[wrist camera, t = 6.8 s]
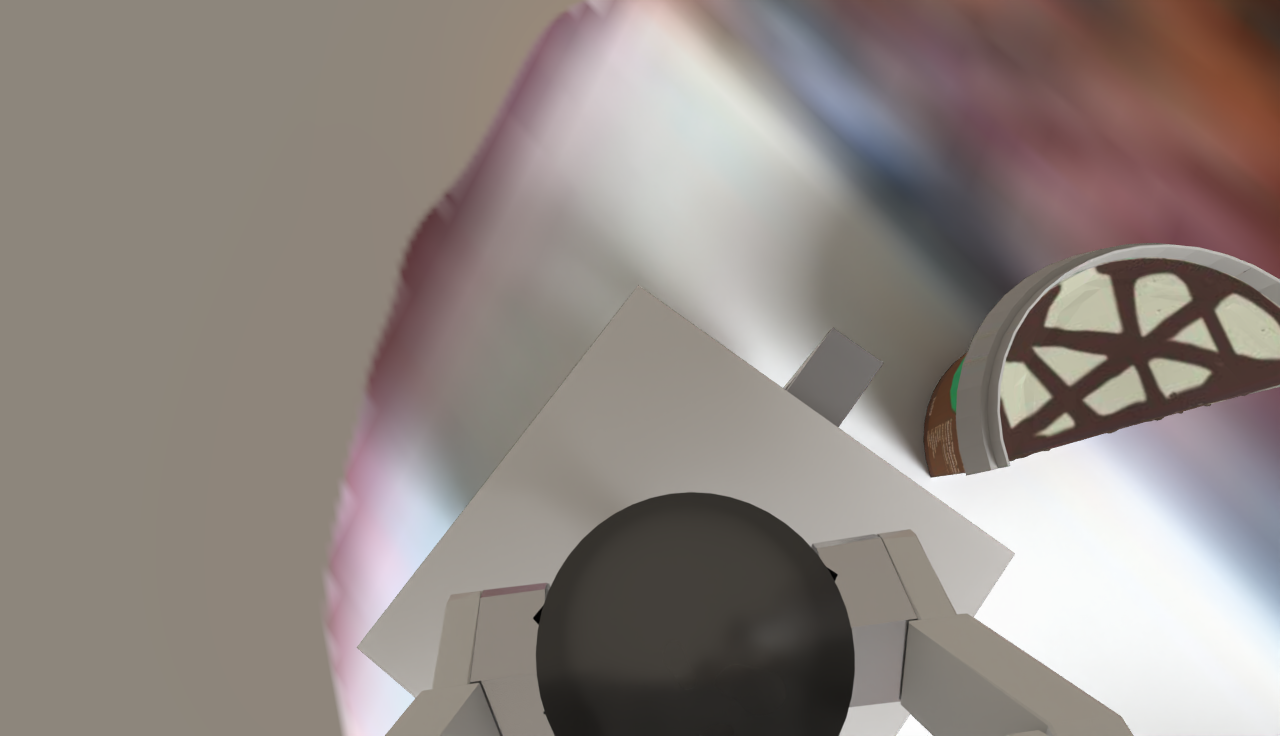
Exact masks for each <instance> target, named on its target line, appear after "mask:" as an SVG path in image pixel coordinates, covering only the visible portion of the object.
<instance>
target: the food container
mask: <svg viewBox="0 0 1280 736" xmlns="http://www.w3.org/2000/svg"><path fill="white" fill-rule="evenodd" d="M1277 387H1280V279H1278V278H1276V277H1274V276H1272V275H1271V274H1269V273H1267V272H1265V271H1264V270H1262V269H1260V268H1258V267H1256V266H1255V265H1252V264H1250V263H1247V262H1245V261H1242V260H1240V259H1237V258H1235V257H1232V256H1229V255H1227V254H1223V253H1219V252H1215V251H1211V250H1207V249H1203V248H1199V247H1190V246H1180V245H1171V244H1161V243H1144V244H1126V245H1121V246H1116V247H1110V248H1105V249H1100V250H1096V251H1092V252H1088V253H1084V254H1079V255H1075V256H1072V257H1070V258H1067V259H1064V260H1061V261H1059V262H1056V263H1053V264H1051V265H1048V266H1046V267H1045V268H1043V269H1041V270H1039V271H1038V272H1036V273H1034V274H1032V275H1030V276H1029V277H1027V278H1025V279H1024V280H1023V281H1021V282H1020V283H1019V284H1018V285H1017V286H1015V287H1014V288H1013V289H1012V290H1010V291H1009V292H1008V293H1007V294H1005V295H1004V296H1003V298H1002V299H1001V300H1000V301H999V302H998V303H997V304H996V306H995V307H994V308H993V309H992V310H991V311H990V312H989V314H988V315H987V316H986V318H985V319H984V321H983V323H982V324H981V326H980V328H979V329H978V331H977V332H976V334H975V336H974V337H973V339H972V342H971V344H970V347H969V349H968V352H967V353H965V354H964V355H963V356H962V357H961V358H960V359H958V360H957V361H956V362H955V363H954V364H953V365H952V366H951V367H950V368H949V369H948V370H947V372H946V373H945V374H944V375H943V376H942V378H941V379H940V381H939V383H938V385H937V386H936V388H935V390H934V391H933V394H932V397H931V399H930V402H929V405H928V408H927V413H926V418H925V423H924V448H925V457H926V461H927V465H928V469H929V472H930V476H931V477H939V476H946V475H953V474H960V473H966V475H971V474H975V473H980V472H985V471H990V470H994V469H997V468H1003V467H1008V466H1010V462H1009V461H1013V460H1015V459H1018V458H1024V457H1027V456H1029V455H1031V454H1034V453H1037V452H1041V451H1049V450H1050V449H1051V448H1055V447H1059V446H1062V445H1066V444H1069V443H1073V442H1077V441H1080V440H1084V439H1087V438H1090V437H1094V436H1097V435H1101V434H1104V433H1113V432H1115V431H1117V430H1118V429H1122V428H1125V427H1129V426H1132V425H1137V424H1140V423H1143V422H1148V421H1153V420H1156V421H1158V420H1161V419H1162V418H1164V417H1165V416H1168V415H1172V414H1176V413H1183V411H1186V410H1190V409H1194V408H1197V407H1200V406H1210V405H1211V404H1212V403H1216V402H1220V401H1224V400H1227V399H1231V398H1235V397H1238V396H1245V395H1247V394H1251V393H1255V392H1260V391H1264V390H1268V389H1272V388H1277Z"/></svg>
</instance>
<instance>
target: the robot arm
mask: <svg viewBox="0 0 1280 736" xmlns="http://www.w3.org/2000/svg"><path fill="white" fill-rule="evenodd" d="M811 548H812V549H813V550H814V551H815V552H816V553H817V555H818V556H819V557H820V559H821V560H822V562H823V563H824V564H825V566H826V567H827V569H828V570H829V572H830V574H831V576H832V577H833V579H834V581H835V583H836V585H837V587H838V589H839V591H840V594H841V596H842V599H843V601H844V604H845V606H846V609H847V613H848V617H849V621H850V625H851V629H852V635H853V643H854V651H855V676H854V684H853V691H852V698H851V702H850V706H849V707H856V706H865V705H874V704H883V703H891V702H900V701H901V705H902V706H903V707H904V708H905V709H906V710H907V711H908V712H909V713H910V714H911V715H912V716H913V717H914V718H915V719H916V720H917V721H918V722H919V723H921V724H922V725H923V726H924V727H925V728H926V729H927V730H928V731H929V732H930V733H931V734H932V735H933V736H1133V734H1132V733H1131V731H1130V729H1129V728H1128V726H1127V725H1126V723H1125V722H1124V720H1123V718H1122V717H1121V716H1120V715H1118V714H1117V713H1115V712H1114V711H1112V710H1111V709H1109V708H1108V707H1106V706H1105V705H1103V704H1102V703H1100V702H1099V701H1097V700H1096V699H1094V698H1093V697H1091V696H1090V695H1088V694H1087V693H1085V692H1084V691H1082V690H1081V689H1080V688H1078V687H1077V686H1075V685H1074V684H1072V683H1071V682H1069V681H1068V680H1066V679H1065V678H1063V677H1062V676H1060V675H1059V674H1057V673H1056V672H1054V671H1053V670H1051V669H1050V668H1048V667H1047V666H1045V665H1044V664H1042V663H1041V662H1039V661H1038V660H1036V659H1035V658H1033V657H1032V656H1030V655H1029V654H1027V653H1026V652H1024V651H1023V650H1021V649H1020V648H1018V647H1017V646H1015V645H1014V644H1012V643H1011V642H1009V641H1008V640H1006V639H1005V638H1003V637H1002V636H1000V635H999V634H997V633H996V632H994V631H993V630H991V629H990V628H988V627H987V626H985V625H984V624H982V623H981V622H979V621H978V620H976V619H975V618H973V617H972V616H970V615H969V614H967V613H965V614H957V613H956V611H955V609H954V607H953V605H952V604H951V602H950V600H949V598H948V596H947V594H946V592H945V590H944V588H943V586H942V584H941V582H940V580H939V578H938V576H937V574H936V572H935V570H934V569H933V567H932V565H931V563H930V561H929V559H928V557H927V555H926V553H925V551H924V549H923V547H922V545H921V543H920V541H919V539H918V537H917V535H916V534H915V533H914V532H913V531H912V530H911V529H907V530H900V531H894V532H887V533H880V534H877V535H876V534H871V535H865V536H858V537H852V538H845V539H839V540H832V541H826V542H820V543H813V544H812V547H811ZM549 589H550V584H549V583H540V584H531V585H523V586H514V587H506V588H497V589H489V590H483V591H475V592H467V593H459V594H451V596H450V598H449V599H448V601H447V603H446V608H445V613H444V619H443V625H442V631H441V637H440V642H439V648H438V654H437V660H436V666H435V671H434V677H433V683H432V689H430V690H424V691H421V692H420V694H419V695H418V696H417V697H416V698H415V700H414V701H413V702H412V703H411V705H410V706H409V707H408V708H407V709H406V711H405V712H404V713H403V714H402V716H401V717H400V718H399V719H398V720H397V722H396V723H395V724H394V725H393V726H392V728H391V729H390V730H389V731H388V733H387V734H386V735H385V736H554V733H553V731H552V729H551V727H550V724H549V722H548V720H547V717H546V714H545V711H544V707H543V704H542V701H541V697H540V692H539V686H538V680H537V670H536V644H537V632H538V627H539V622H540V617H541V612H542V609H543V606H544V603H545V600H546V597H547V594H548V591H549Z"/></svg>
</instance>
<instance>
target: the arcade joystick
mask: <svg viewBox="0 0 1280 736" xmlns="http://www.w3.org/2000/svg"><path fill="white" fill-rule="evenodd" d="M882 364H883V362H882V361H881V360H879V359H878V358H876V357H875V356H873V355H872V354H870V353H869V352H868V351H866V350H865V349H863V348H862V347H860V346H859V345H857V344H856V343H854V342H853V341H852V340H850V339H849V338H847V337H846V336H844V335H843V334H841V333H840V332H839V331H837V330H836V329H834V328H832V329H831V330H830V332H829V333H828V334H827V335H826V336H825V338H824V339H823V340H822V341H821V342H820V344H819V345H818V346H817V347H816V349H815V350H814V351H813V352H812V353H811V355H810V356H809V357H808V358H807V360H806V361H805V362H804V363H803V364H802V366H801V367H800V368H799V369H798V371H797V372H796V373H795V374H794V375H793V377H792V378H791V379H790V380H789V381H788V383H787V384H786V385H785V386H784V388H782V387H781V386H779V385H778V384H776V383H775V382H774V381H772V380H771V379H769V378H768V377H767V376H765V375H764V374H762V373H761V372H759V371H758V370H757V369H755V368H754V367H752V366H751V365H750V364H748V363H747V362H745V361H744V360H743V359H741V358H740V357H738V356H737V355H736V354H734V353H733V352H731V351H730V350H729V349H727V348H726V347H724V346H723V345H722V344H720V343H719V342H717V341H716V340H715V339H713V338H712V337H710V336H709V335H708V334H706V333H705V332H703V331H702V330H700V329H699V328H698V327H696V326H695V325H693V324H692V323H691V322H689V321H688V320H686V319H685V318H684V317H682V316H681V315H679V314H678V313H677V312H675V311H674V310H672V309H671V308H670V307H668V306H667V305H665V304H664V303H663V302H661V301H660V300H658V299H657V298H656V297H654V296H653V295H651V294H650V293H649V292H647V291H646V290H644V289H643V288H641V287H640V286H639V285H638V286H637V288H636V289H635V290H634V291H633V293H632V294H631V295H630V297H629V298H628V299H627V300H626V302H625V303H624V304H623V306H622V307H621V308H620V309H619V311H618V312H617V313H616V315H615V316H614V317H613V318H612V320H611V321H610V322H609V324H608V325H607V326H606V327H605V329H604V330H603V331H602V333H601V334H600V335H599V336H598V338H597V339H596V340H595V342H594V343H593V344H592V345H591V347H590V348H589V349H588V351H587V352H586V353H585V354H584V356H583V357H582V358H581V360H580V361H579V362H578V363H577V365H576V366H575V367H574V369H573V370H572V371H571V372H570V374H569V375H568V376H567V378H566V379H565V380H564V381H563V383H562V384H561V385H560V387H559V388H558V389H557V390H556V392H555V393H554V394H553V396H552V397H551V398H550V399H549V401H548V402H547V403H546V405H545V406H544V407H543V408H542V410H541V411H540V412H539V414H538V415H537V416H536V417H535V419H534V420H533V421H532V423H531V424H530V425H529V426H528V428H527V429H526V430H525V432H524V433H523V434H522V435H521V437H520V438H519V439H518V441H517V442H516V443H515V444H514V446H513V447H512V448H511V450H510V451H509V452H508V453H507V455H506V456H505V457H504V459H503V460H502V461H501V462H500V464H499V465H498V466H497V468H496V469H495V470H494V471H493V473H492V474H491V475H490V477H489V478H488V479H487V480H486V482H485V483H484V484H483V486H482V487H481V488H480V489H479V491H478V492H477V493H476V495H475V496H474V497H473V498H472V500H471V501H470V502H469V504H468V505H467V506H466V507H465V509H464V510H463V511H462V513H461V514H460V515H459V516H458V518H457V519H456V520H455V522H454V523H453V524H452V525H451V527H450V528H449V529H448V531H447V532H446V533H445V534H444V536H443V537H442V538H441V540H440V541H439V542H438V543H437V545H436V546H435V547H434V549H433V550H432V551H431V552H430V554H429V555H428V556H427V558H426V559H425V560H424V561H423V563H422V564H421V565H420V567H419V568H418V569H417V570H416V572H415V573H414V574H413V576H412V577H411V578H410V579H409V581H408V582H407V583H406V585H405V586H404V587H403V588H402V590H401V591H400V592H399V594H398V595H397V596H396V597H395V599H394V600H393V601H392V603H391V604H390V605H389V606H388V608H387V609H386V610H385V612H384V613H383V614H382V615H381V617H380V618H379V619H378V621H377V622H376V623H375V624H374V626H373V627H372V628H371V630H370V631H369V632H368V633H367V635H366V636H365V637H364V639H363V640H362V641H361V642H360V644H359V645H358V646H357V648H358V649H359V650H360V651H361V652H362V653H364V654H365V655H366V656H367V657H368V658H369V659H371V660H372V661H373V662H374V663H375V664H376V665H378V666H379V667H380V668H381V669H382V670H383V671H385V672H386V673H387V674H388V675H389V676H390V677H392V678H393V679H394V680H395V681H396V682H397V683H399V684H400V685H401V686H402V687H403V688H404V689H406V690H407V691H408V692H409V693H410V694H411V695H413V696H414V697H415V698H416V697H417V696H418V695H419V694H420V692H421V691H424V690H430V689H432V683H433V677H434V671H435V666H436V660H437V654H438V648H439V642H440V637H441V631H442V625H443V619H444V613H445V608H446V603H447V601H448V599H449V598H450V596H451V594H459V593H467V592H475V591H483V590H489V589H497V588H506V587H514V586H523V585H531V584H540V583H549V584H550V587H551V585H552V583H553V581H554V579H555V577H556V575H557V573H558V571H559V569H560V568H561V566H562V565H563V563H564V562H565V560H566V559H567V557H568V556H569V554H570V553H571V552H572V551H573V549H574V548H575V547H576V546H577V545H578V544H579V542H580V541H581V540H582V539H583V538H584V537H585V536H586V535H587V534H588V533H590V532H591V531H592V530H593V529H594V528H595V527H596V526H597V525H599V524H600V523H602V522H603V521H604V520H606V519H607V518H609V517H610V516H612V515H613V514H615V513H617V512H619V511H621V510H623V509H624V508H626V507H628V506H630V505H632V504H635V503H638V502H641V501H644V500H646V499H649V498H653V497H657V496H662V495H667V494H673V493H686V492H697V493H712V494H717V495H723V496H728V497H732V498H735V499H738V500H741V501H744V502H747V503H750V504H752V505H754V506H756V507H759V508H761V509H763V510H765V511H767V512H769V513H770V514H772V515H773V516H775V517H777V518H778V519H780V520H781V521H783V522H784V523H786V524H787V525H788V526H789V527H790V528H792V529H793V530H794V531H795V532H796V533H798V534H799V535H800V536H801V537H802V538H803V539H804V540H805V541H806V542H807V543H808V544H809V545H810V547H812V544H813V543H820V542H826V541H832V540H839V539H845V538H852V537H858V536H865V535H871V534H876V535H877V534H880V533H887V532H894V531H900V530H907V529H911V530H912V531H913V532H914V533H915V534H916V535H917V537H918V539H919V541H920V543H921V545H922V547H923V549H924V551H925V553H926V555H927V557H928V559H929V561H930V563H931V565H932V567H933V569H934V570H935V572H936V574H937V576H938V578H939V580H940V582H941V584H942V586H943V588H944V590H945V592H946V594H947V596H948V598H949V600H950V602H951V604H952V605H953V607H954V609H955V611H956V613H957V614H965V613H967V614H969V615H970V616H972V617H974V616H975V614H976V613H977V611H978V610H979V608H980V607H981V605H982V603H983V602H984V600H985V599H986V597H987V596H988V594H989V593H990V591H991V590H992V588H993V587H994V585H995V584H996V582H997V581H998V579H999V578H1000V576H1001V574H1002V573H1003V571H1004V570H1005V568H1006V567H1007V565H1008V564H1009V562H1010V561H1011V559H1012V558H1013V556H1014V555H1015V553H1014V552H1012V551H1011V550H1010V549H1008V548H1007V547H1005V546H1004V545H1003V544H1001V543H1000V542H998V541H997V540H995V539H994V538H993V537H991V536H990V535H988V534H987V533H986V532H984V531H983V530H981V529H980V528H979V527H977V526H976V525H974V524H973V523H972V522H970V521H969V520H967V519H966V518H965V517H963V516H962V515H960V514H959V513H958V512H956V511H955V510H953V509H952V508H951V507H949V506H948V505H946V504H945V503H944V502H942V501H941V500H939V499H938V498H936V497H935V496H934V495H932V494H931V493H929V492H928V491H927V490H925V489H924V488H922V487H921V486H920V485H918V484H917V483H915V482H914V481H913V480H911V479H910V478H908V477H907V476H906V475H904V474H903V473H901V472H900V471H899V470H897V469H896V468H894V467H893V466H892V465H890V464H889V463H887V462H886V461H885V460H883V459H882V458H880V457H879V456H877V455H876V454H875V453H873V452H872V451H870V450H869V449H868V448H866V447H865V446H863V445H862V444H861V443H859V442H858V441H856V440H855V439H854V438H852V437H851V436H849V435H848V434H847V433H845V432H844V431H842V430H841V429H840V428H838V427H839V426H840V424H841V423H842V421H843V420H844V419H845V417H846V416H847V414H848V413H849V412H850V410H851V409H852V407H853V406H854V404H855V403H856V402H857V400H858V399H859V397H860V396H861V395H862V393H863V392H864V390H865V389H866V388H867V386H868V385H869V383H870V382H871V381H872V379H873V377H874V376H875V374H876V373H877V371H878V370H879V369H880V367H881V366H882ZM909 715H910V713H909V712H908V711H907V710H906V709H905V708H904V707H903V706H902V705H901V701H900V702H891V703H883V704H874V705H865V706H856V707H849V709H848V713H847V717H846V720H845V722H844V725H843V727H842V730H841V732H840V735H839V736H896V735H897V733H898V732H899V730H900V729H901V727H902V726H903V724H904V723H905V721H906V720H907V718H908V717H909Z"/></svg>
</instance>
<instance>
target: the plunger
mask: <svg viewBox="0 0 1280 736" xmlns="http://www.w3.org/2000/svg"><path fill="white" fill-rule="evenodd" d="M536 670H537V680H538V686H539V692H540V697H541V701H542V704H543V707H544V711H545V714H546V717H547V720H548V722H549V724H550V727H551V729H552V731H553V733H554V736H839V735H840V732H841V730H842V727H843V725H844V722H845V720H846V717H847V713H848V709H849V706H850V702H851V698H852V691H853V684H854V676H855V651H854V643H853V635H852V629H851V625H850V621H849V617H848V613H847V609H846V606H845V604H844V601H843V599H842V596H841V594H840V591H839V589H838V587H837V585H836V583H835V581H834V579H833V577H832V576H831V574H830V572H829V570H828V569H827V567H826V566H825V564H824V563H823V562H822V560H821V559H820V557H819V556H818V555H817V553H816V552H815V551H814V550H813V549H812V548H811V547H810V545H809V544H808V543H807V542H806V541H805V540H804V539H803V538H802V537H801V536H800V535H799V534H798V533H796V532H795V531H794V530H793V529H792V528H790V527H789V526H788V525H787V524H786V523H784V522H783V521H781V520H780V519H778V518H777V517H775V516H773V515H772V514H770V513H769V512H767V511H765V510H763V509H761V508H759V507H756V506H754V505H752V504H750V503H747V502H744V501H741V500H738V499H735V498H732V497H728V496H723V495H717V494H712V493H697V492H686V493H673V494H667V495H662V496H657V497H653V498H649V499H646V500H644V501H641V502H638V503H635V504H632V505H630V506H628V507H626V508H624V509H623V510H621V511H619V512H617V513H615V514H613V515H612V516H610V517H609V518H607V519H606V520H604V521H603V522H602V523H600V524H599V525H597V526H596V527H595V528H594V529H593V530H592V531H591V532H590V533H588V534H587V535H586V536H585V537H584V538H583V539H582V540H581V541H580V542H579V544H578V545H577V546H576V547H575V548H574V549H573V551H572V552H571V553H570V554H569V556H568V557H567V559H566V560H565V562H564V563H563V565H562V566H561V568H560V569H559V571H558V573H557V575H556V577H555V579H554V581H553V583H552V585H551V587H550V589H549V591H548V594H547V597H546V600H545V603H544V606H543V609H542V612H541V617H540V622H539V627H538V632H537V644H536Z"/></svg>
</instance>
